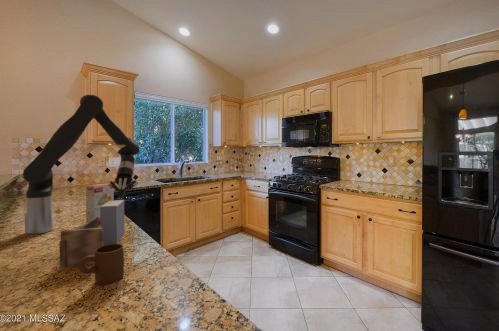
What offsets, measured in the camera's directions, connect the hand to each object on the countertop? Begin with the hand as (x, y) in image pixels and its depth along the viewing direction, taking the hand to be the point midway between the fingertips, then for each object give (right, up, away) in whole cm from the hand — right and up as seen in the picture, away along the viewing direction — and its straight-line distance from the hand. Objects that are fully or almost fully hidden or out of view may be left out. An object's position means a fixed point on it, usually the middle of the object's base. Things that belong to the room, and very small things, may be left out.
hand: (120, 196), depth 118 cm
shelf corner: (+4, -18, -24) cm, 30 cm away
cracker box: (-20, -16, +16) cm, 30 cm away
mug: (+22, -19, -49) cm, 57 cm away
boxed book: (+4, -17, -13) cm, 22 cm away
